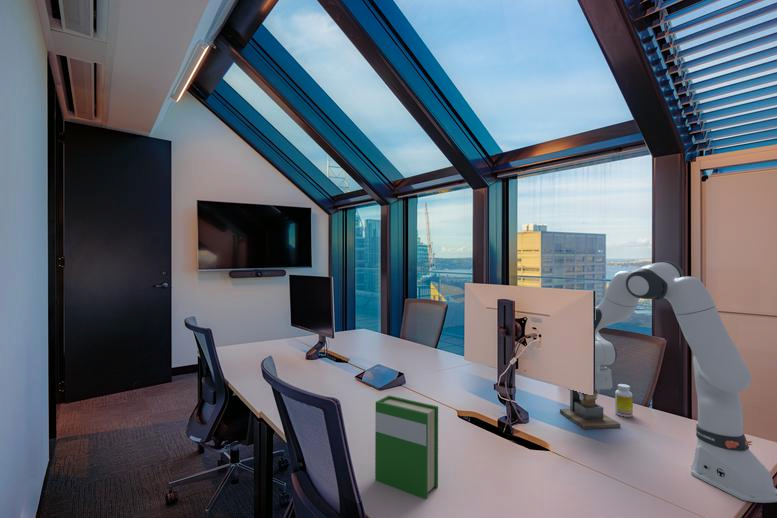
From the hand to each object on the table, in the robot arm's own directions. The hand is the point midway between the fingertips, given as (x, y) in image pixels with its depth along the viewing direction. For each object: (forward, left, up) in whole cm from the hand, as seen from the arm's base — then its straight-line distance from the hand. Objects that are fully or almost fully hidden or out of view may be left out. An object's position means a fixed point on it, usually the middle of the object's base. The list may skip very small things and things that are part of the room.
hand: (588, 399), depth 172 cm
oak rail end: (0, 0, -5) cm, 5 cm away
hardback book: (-42, +85, -9) cm, 95 cm away
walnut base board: (0, 0, -9) cm, 9 cm away
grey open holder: (+2, 0, -7) cm, 7 cm away
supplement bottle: (+4, -19, -9) cm, 22 cm away
